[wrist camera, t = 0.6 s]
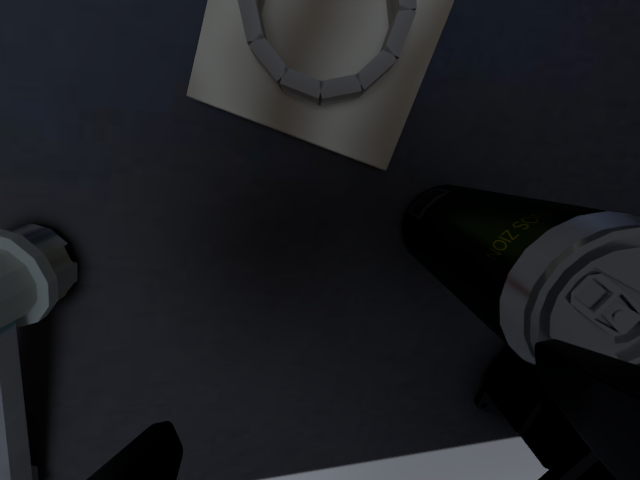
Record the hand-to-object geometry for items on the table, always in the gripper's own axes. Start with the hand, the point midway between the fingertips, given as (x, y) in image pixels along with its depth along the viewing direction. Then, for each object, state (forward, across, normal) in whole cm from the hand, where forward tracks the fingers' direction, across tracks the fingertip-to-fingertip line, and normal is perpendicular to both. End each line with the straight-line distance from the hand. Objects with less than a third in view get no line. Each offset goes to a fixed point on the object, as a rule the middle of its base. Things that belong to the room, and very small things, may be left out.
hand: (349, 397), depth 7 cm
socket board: (+13, -3, -13) cm, 18 cm away
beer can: (+14, -7, 0) cm, 15 cm away
